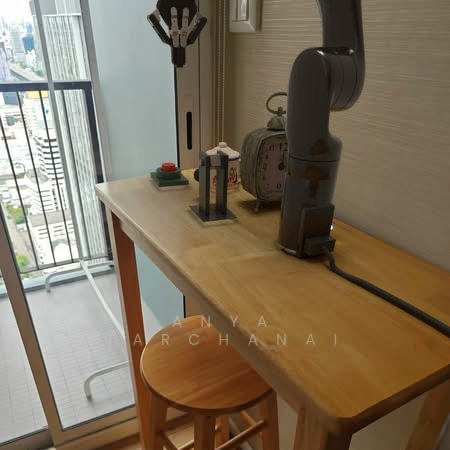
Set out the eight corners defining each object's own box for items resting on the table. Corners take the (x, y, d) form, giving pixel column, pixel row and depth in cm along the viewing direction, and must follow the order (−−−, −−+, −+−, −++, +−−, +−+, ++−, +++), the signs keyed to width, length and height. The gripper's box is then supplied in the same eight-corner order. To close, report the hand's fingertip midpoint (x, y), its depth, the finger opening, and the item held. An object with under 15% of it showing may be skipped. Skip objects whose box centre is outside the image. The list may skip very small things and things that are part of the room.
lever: (193, 184, 96) (190, 170, 96) (205, 183, 97) (203, 169, 97) (209, 168, 84) (207, 152, 83) (224, 167, 85) (221, 151, 84)
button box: (188, 188, 108) (188, 173, 106) (159, 191, 106) (158, 175, 104) (178, 178, 116) (178, 163, 114) (150, 180, 114) (149, 165, 111)
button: (177, 172, 108) (177, 165, 107) (163, 173, 107) (163, 166, 106) (173, 168, 111) (173, 162, 110) (160, 169, 110) (160, 163, 109)
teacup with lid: (211, 195, 104) (212, 147, 98) (200, 184, 112) (200, 139, 105) (253, 191, 108) (257, 145, 102) (240, 181, 115) (242, 138, 109)
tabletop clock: (251, 218, 91) (260, 94, 78) (234, 205, 98) (239, 89, 85) (306, 211, 97) (322, 93, 83) (286, 199, 104) (298, 89, 90)
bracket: (188, 210, 94) (187, 148, 87) (221, 207, 97) (222, 146, 90) (203, 226, 87) (203, 160, 79) (237, 222, 89) (240, 157, 82)
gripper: (146, -40, 75) (153, 68, 84) (213, -34, 79) (213, 69, 89) (138, -34, 81) (145, 66, 90) (201, -29, 85) (201, 67, 95)
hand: (178, 67), depth 89 cm, fingers closed
